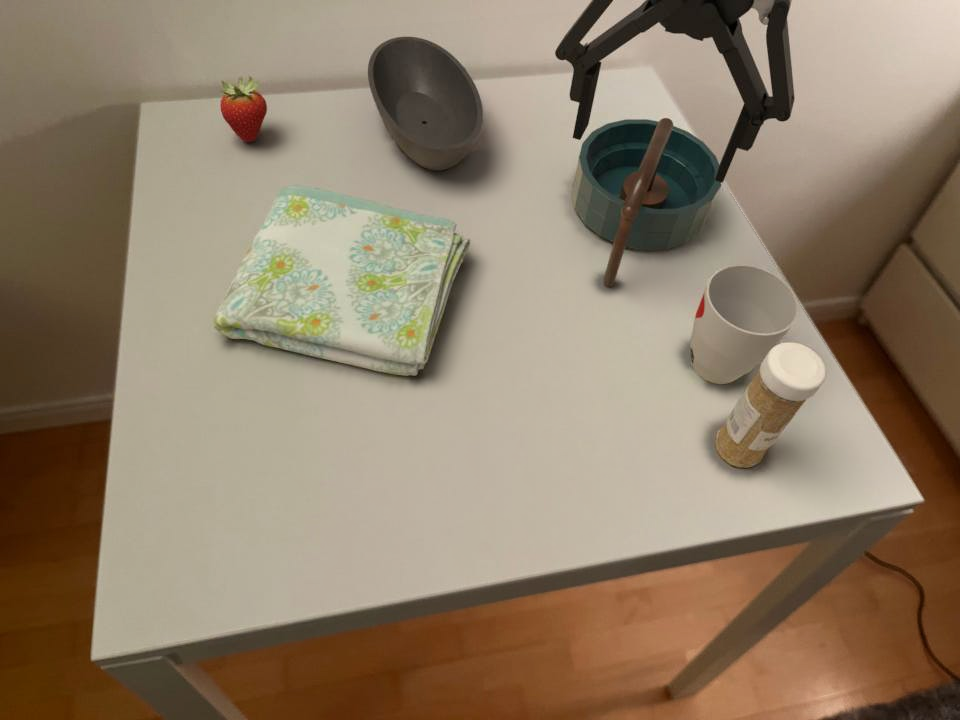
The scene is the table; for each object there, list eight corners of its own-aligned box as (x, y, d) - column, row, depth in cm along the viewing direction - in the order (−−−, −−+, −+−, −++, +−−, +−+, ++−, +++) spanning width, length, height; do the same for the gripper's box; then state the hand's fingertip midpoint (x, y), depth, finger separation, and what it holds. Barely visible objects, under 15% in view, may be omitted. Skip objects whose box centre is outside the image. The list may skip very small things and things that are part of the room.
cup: (708, 318, 76) (741, 250, 68) (773, 367, 73) (816, 302, 65) (658, 359, 73) (688, 293, 65) (724, 412, 70) (764, 350, 62)
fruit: (270, 123, 90) (258, 64, 84) (275, 151, 87) (263, 92, 81) (227, 128, 89) (211, 68, 83) (231, 156, 86) (215, 97, 80)
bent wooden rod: (629, 297, 77) (656, 219, 67) (582, 281, 78) (602, 202, 68) (668, 194, 86) (698, 111, 76) (626, 180, 87) (649, 97, 77)
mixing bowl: (731, 234, 84) (749, 194, 79) (611, 268, 80) (623, 228, 75) (660, 149, 92) (673, 108, 87) (548, 176, 88) (555, 135, 83)
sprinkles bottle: (758, 476, 66) (825, 396, 55) (708, 458, 67) (764, 376, 56) (765, 435, 69) (830, 350, 58) (717, 418, 69) (772, 332, 58)
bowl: (444, 74, 98) (445, 30, 93) (500, 183, 86) (505, 139, 81) (355, 88, 95) (351, 43, 90) (400, 202, 84) (398, 158, 78)
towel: (428, 387, 69) (428, 355, 65) (215, 339, 71) (201, 306, 67) (471, 251, 80) (474, 216, 76) (284, 212, 82) (277, 176, 77)
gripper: (910, -77, 51) (789, 166, 69) (571, -153, 56) (537, 93, 73) (904, -29, 47) (777, 217, 64) (538, -116, 52) (510, 136, 69)
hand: (649, 151), depth 69 cm, fingers open, 13 cm apart
